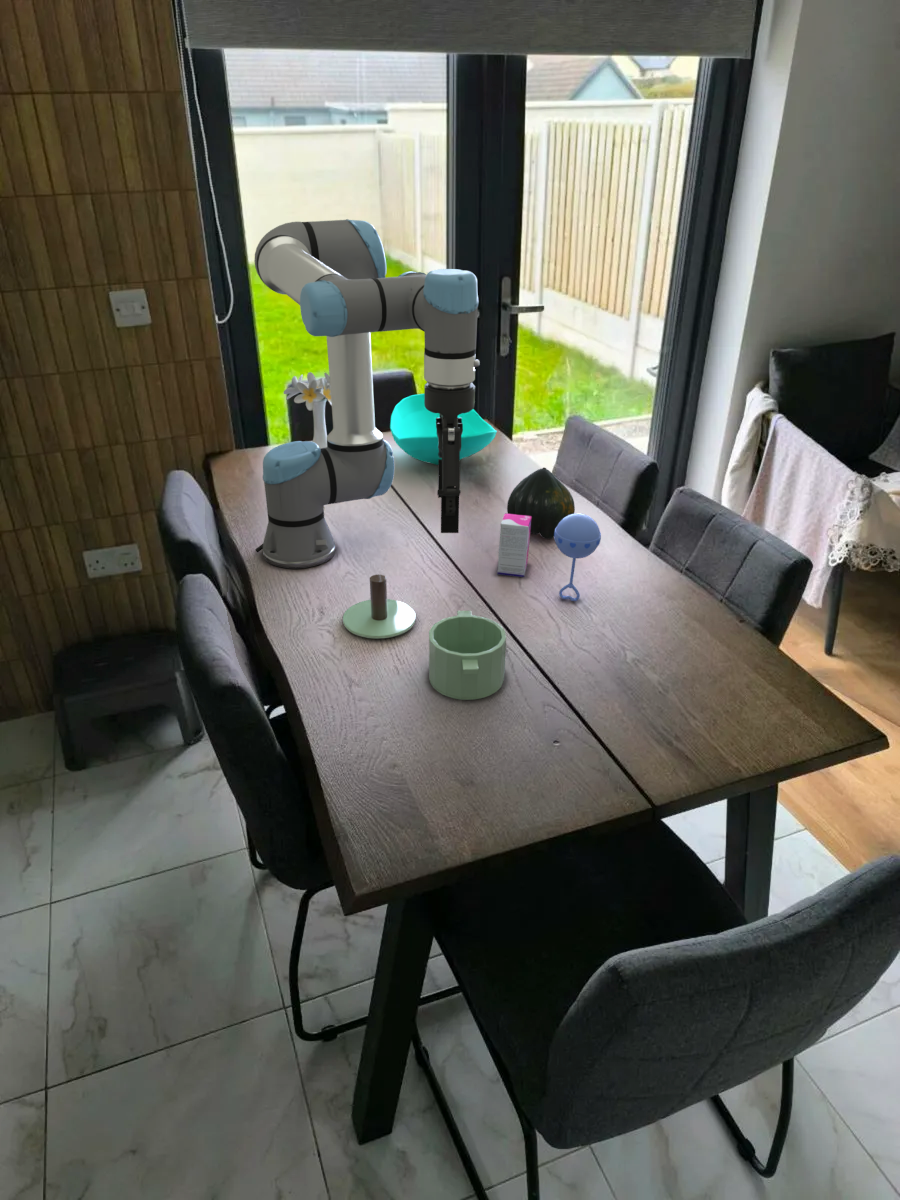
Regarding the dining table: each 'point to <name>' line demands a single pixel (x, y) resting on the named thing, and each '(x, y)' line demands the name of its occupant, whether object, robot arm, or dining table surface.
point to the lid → (379, 614)
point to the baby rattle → (576, 542)
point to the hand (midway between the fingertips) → (447, 513)
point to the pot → (466, 656)
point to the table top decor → (434, 430)
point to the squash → (541, 502)
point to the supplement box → (514, 545)
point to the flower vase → (313, 402)
